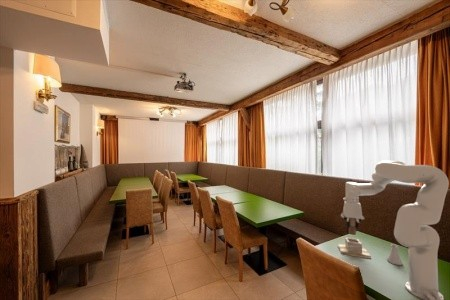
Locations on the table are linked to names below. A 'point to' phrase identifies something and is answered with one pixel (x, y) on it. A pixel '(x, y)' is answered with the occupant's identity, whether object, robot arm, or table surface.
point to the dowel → (352, 226)
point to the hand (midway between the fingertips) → (352, 227)
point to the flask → (394, 256)
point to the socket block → (353, 248)
